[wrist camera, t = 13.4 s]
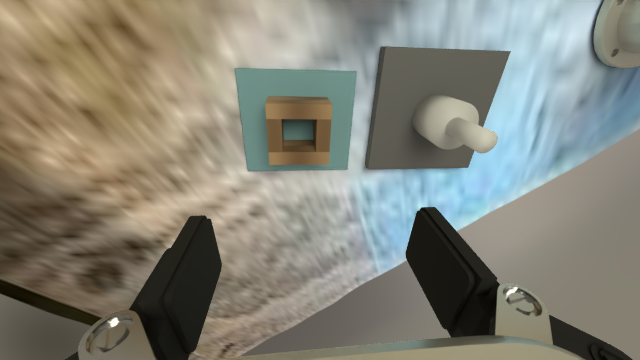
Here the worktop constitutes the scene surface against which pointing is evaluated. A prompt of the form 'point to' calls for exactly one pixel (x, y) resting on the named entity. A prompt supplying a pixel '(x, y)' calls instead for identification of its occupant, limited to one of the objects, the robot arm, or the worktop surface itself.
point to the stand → (432, 107)
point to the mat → (294, 83)
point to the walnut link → (298, 149)
